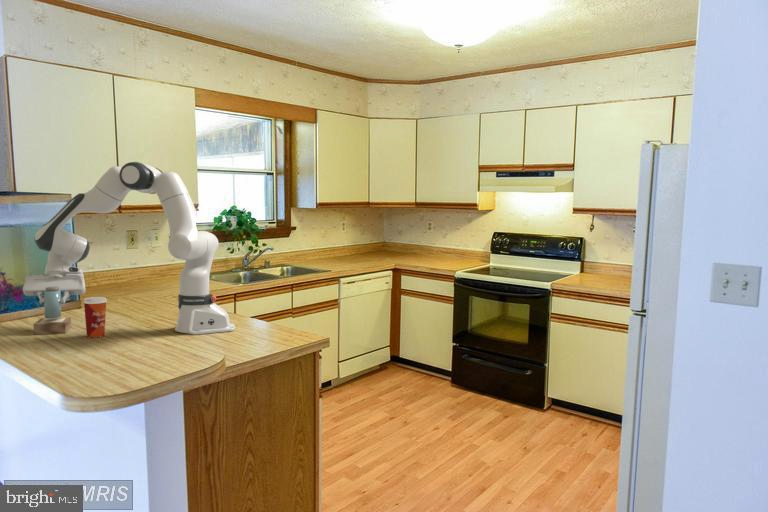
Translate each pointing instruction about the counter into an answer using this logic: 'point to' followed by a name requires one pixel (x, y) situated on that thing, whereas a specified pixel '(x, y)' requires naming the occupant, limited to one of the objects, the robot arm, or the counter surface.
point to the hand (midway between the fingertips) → (52, 303)
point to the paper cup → (95, 316)
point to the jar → (52, 302)
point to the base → (52, 326)
